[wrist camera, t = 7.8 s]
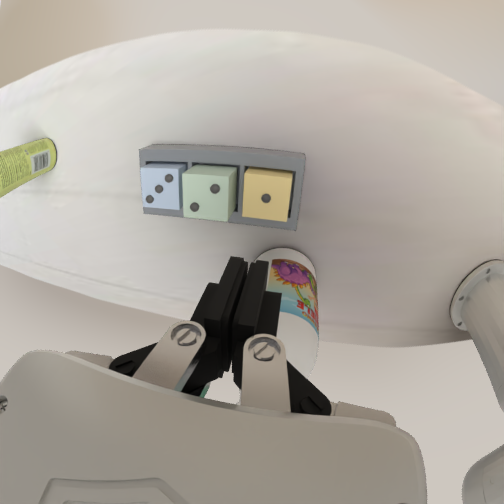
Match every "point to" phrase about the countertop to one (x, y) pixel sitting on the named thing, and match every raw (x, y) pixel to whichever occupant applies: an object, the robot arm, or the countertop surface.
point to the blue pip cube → (163, 184)
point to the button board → (243, 161)
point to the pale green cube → (209, 192)
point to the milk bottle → (295, 306)
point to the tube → (25, 163)
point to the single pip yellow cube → (266, 193)
